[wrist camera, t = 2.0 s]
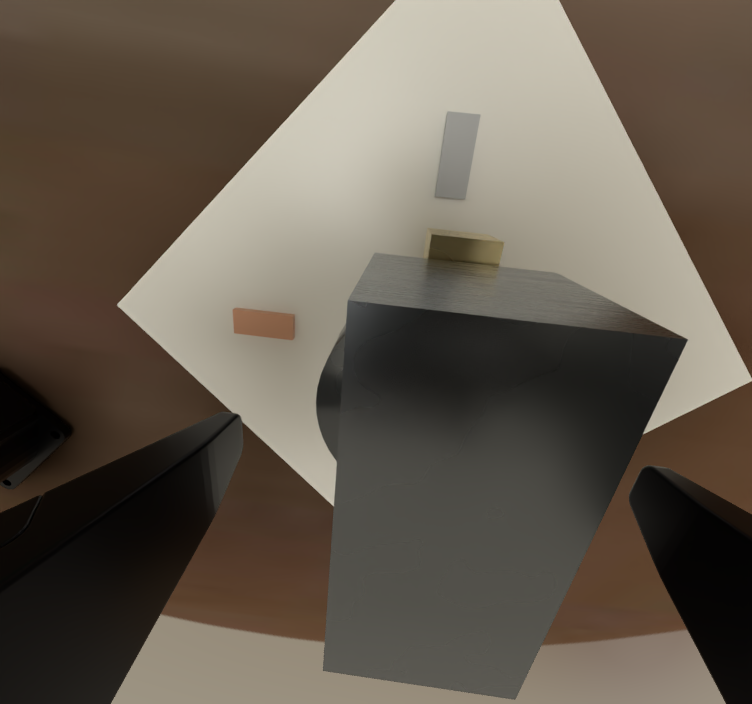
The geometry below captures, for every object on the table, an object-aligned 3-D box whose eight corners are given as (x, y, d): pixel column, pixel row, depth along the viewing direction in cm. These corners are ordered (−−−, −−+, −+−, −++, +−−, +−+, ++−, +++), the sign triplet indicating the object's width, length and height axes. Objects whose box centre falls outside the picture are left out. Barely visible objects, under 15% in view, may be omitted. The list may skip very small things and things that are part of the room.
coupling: (501, 485, 13) (574, 708, 7) (326, 462, 13) (266, 662, 8) (576, 243, 10) (820, 310, 4) (339, 217, 10) (247, 246, 4)
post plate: (390, 539, 21) (387, 613, 17) (136, 297, 16) (56, 327, 12) (727, 367, 15) (830, 421, 11) (490, -82, 10) (536, -234, 7)
